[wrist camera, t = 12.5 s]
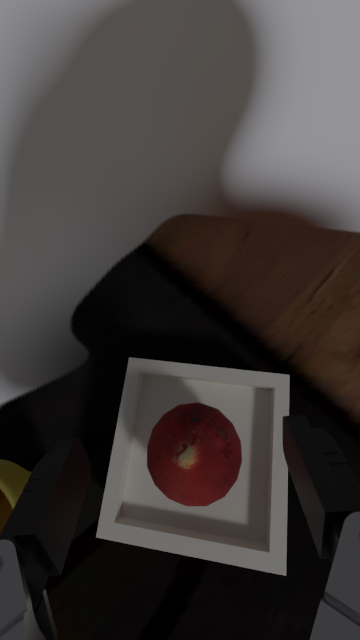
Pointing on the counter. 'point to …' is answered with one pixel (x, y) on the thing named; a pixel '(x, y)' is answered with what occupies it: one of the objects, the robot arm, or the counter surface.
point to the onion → (194, 454)
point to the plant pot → (10, 488)
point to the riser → (242, 499)
